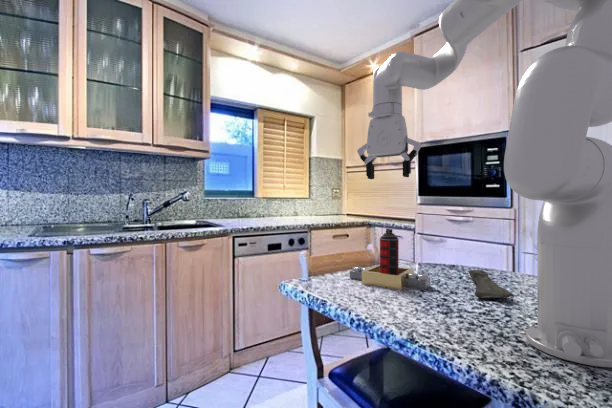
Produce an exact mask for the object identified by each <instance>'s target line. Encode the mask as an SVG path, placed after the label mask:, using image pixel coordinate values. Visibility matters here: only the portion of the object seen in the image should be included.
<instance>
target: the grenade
mask: <svg viewBox="0 0 612 408" xmlns="http://www.w3.org/2000/svg"><path fill="white" fill-rule="evenodd" d="M383 228H385V232H384V233H383V232H381V234H382V235H381V236H380V238H379V265H380V273H387V274H395V275H398V267H399V242H400V241H399V237H397V235H396V234H395V233H393V228H387V227H386V226H383V227H382V228H381V230H383Z"/></svg>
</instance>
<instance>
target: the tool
mask: <svg viewBox="0 0 612 408" xmlns="http://www.w3.org/2000/svg"><path fill="white" fill-rule="evenodd" d="M468 274H469V276H470V279H471V280H472V282H473V283H474V284H476V290H475V292H474V295H475V297H477V298H479V299H488V298H489V299H502V298H511V297H512V298H514V297H515V295H514V293H512V292H510V291H509V290H508V289H505V288H503V287H502V286H500V285H498V284H497V283H496V282H494V281H493V280H492V279H491V278H490V277H489V274H488V272H486V271H484V270H482V269H470V270H469V271H468Z"/></svg>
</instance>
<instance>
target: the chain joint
mask: <svg viewBox="0 0 612 408" xmlns="http://www.w3.org/2000/svg"><path fill="white" fill-rule="evenodd" d="M350 278H351V280H358V281H361V284H362V285H369V286H377V287H380V286H381V287H382V288H386V287H387V288H388V289H392V290H393V289H394V290H400V291H401V290H403V289H405V288H407V287H408V289H413V290H414V289H415V290H421V291H427V290H428V289H429V288H430V287H431V277H430V276H429V275H428V274H425V273H415V268H408V267H399V266H398V275H395V274H387V273H380V264H375V265H374V266H371V267H361V266H352V270H350V271H349V279H350Z"/></svg>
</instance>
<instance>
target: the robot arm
mask: <svg viewBox="0 0 612 408" xmlns="http://www.w3.org/2000/svg"><path fill="white" fill-rule="evenodd" d="M522 1H523V0H453V1H452V2H451V3H449V5H448V6H447V7H446V8H445V9H443V11H442V12H441V14H440V16H439V18H438V24H439V25H438V26H439V29H440V32H441V34H442V37H443V38H444V40H445V41H446V43H445V44H444V46H443V47H442V48H441V49H440V50H438V51H437V52H436V53H435V54H434V55H433V56H431V57H427V56H424V55H419V54H415V53H411V52H407V51H397V52H396V51H395V52H394V53H392V54H391V56H389V57H388V58H387V60H386V61H385V62H384V63H383V64H381V65H379V66H377V67H376V68H375V69H374V70H373V73H372V110H371V112H368V118H371V119H369V123H368V130H367V139H366V143H365V144H364V145H362V146H361V147H359V148H358V149H356V150H357V154H358V156H359V158H360V160H361V161H362V162H363V163H364V164H365V169H366V170H365V174H366V177H367V179H368V180H374V179H375V165H374V164H373V163H375V161H376V159H377V158H387V157H399V156H401V157H402V158H403V160H402V177H403V178H410V174H412V173H411V172H412V162H413V160H414V158H415V157H416V156H417V155H418V154H419V151H420V149H421V147H422V143H421V142H419V141H416V140H413V139H411V138H409V137H408V135H409V134H408V128H407V123H406V119H405V116H404V115H403V87H406V88H407V87H408V88H411V89H416V90H423V91H424V90H428V89H431V88H433V87H435V86H437V85H438V84H440V83H442V82H443V81H444V80H445V79H447V78H448V77H450V76H451V75H452V74H453V73H454V72H455V71H456V70H457V69H458V67H459V65H460V64H461V63H462V60H463V59H464V56H465V54H466V52H467V47H468V45H469V44H470V43H471V42H472V41H474V40H475V39H476V38H477V37H479V36H480V35H481V34H482V33H483V32H484V31H486V30H487V29H489V27H491V26H492V25H493V24H495V23H496V22H498V21H499V20H500V19H501V18H502V17H504V16H505V15H506V14H507V13H508V12H510V11H511V10H512V9H513V8H515V7H516V6H517V5H519V4H520V3H521V2H522ZM541 1H542V2H543V3H546V4H550V5H552V6H554V7H556V8H560V9H563V10H569V11H575V12H577V13H576V15H574V18H573V19H572V21H571V23H570V26H569V28H568V32H567V35H566V40H565V46H560V47H556V48H554V49H551V50H549V51H547V52H545V53H544V54H542V55H541V56H539V57H538V58H537V59H535V60H534V61H533V63H532V64H531V65H530V66H529V67H528V68H527V70H526V71H525V73H524V74H523V75H522V77H521V80H520V81H519V84H518V86H517V88H516V92H515V95H514V101H513V107H512V110H511V116H510V122H509V123H510V124H509V128H508V133H507V140H506V145H505V152H504V160H503V173H504V176H505V177H504V178H505V180H506V183H507V185H508V186H509V188H510V189H511V190H512V191H513V192H514V193H516V194H517V195H519V196H520V197H523V198H525V199H529V200H531V201H532V200H533V201H539V202H540V201H541V202H542V201H543V202H542V205H541V209H540V212H539V216H538V221H537V222H538V223H537V233H536V234H537V238H536V239H537V242H536V245H537V246H536V250H537V251H536V253H537V254H536V258H537V259H536V261H537V262H536V264H537V270H536V271H537V275H536V276H537V285H536V287H537V288H536V289H537V292H536V293H537V325H534V326H531V327H528V328H527V329H526V330H525V339H526V341H527V342H528V343H529V344H530V345H532V346H533V347H534V348H536V350H537V349H538V350H539V351H541V352H543V353H546V354H547V355H551V356H553V357H557V358H559V359H562V360H565V361H569V362H573V363H576V364H582V365H585V366H586V365H587V366H592V367H598V368H611V369H612V145H611V144H610V143H608V142H606V141H605V140H602V139H600V138H595V137H591V136H588V135H587V134H588V130H589V128H595V127H601V126H604V125H607V124H610V123H611V122H612V0H541ZM409 145H411V146H413V148H412V150H411V151H410V152H409ZM365 152H366V153H367V155H368V156H366V153H365ZM408 152H409V153H408Z"/></svg>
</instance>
